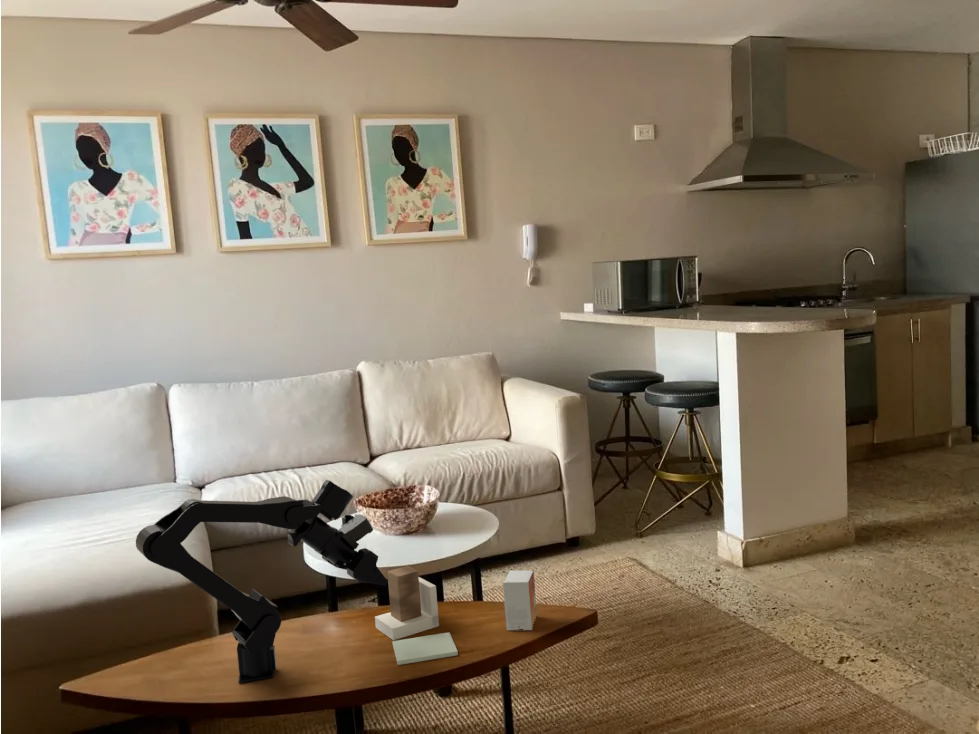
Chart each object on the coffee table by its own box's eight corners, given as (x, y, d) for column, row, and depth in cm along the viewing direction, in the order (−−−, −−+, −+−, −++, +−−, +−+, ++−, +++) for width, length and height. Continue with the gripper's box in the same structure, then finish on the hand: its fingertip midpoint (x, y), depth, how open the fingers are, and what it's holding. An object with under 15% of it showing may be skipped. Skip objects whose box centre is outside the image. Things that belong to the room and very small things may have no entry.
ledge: (393, 640, 168) (389, 598, 168) (375, 627, 176) (372, 587, 175) (439, 626, 174) (435, 585, 173) (420, 614, 182) (416, 575, 181)
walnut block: (401, 622, 171) (397, 576, 171) (391, 615, 176) (387, 571, 175) (421, 616, 174) (418, 571, 173) (411, 609, 178) (407, 565, 178)
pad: (397, 665, 156) (397, 661, 156) (392, 645, 166) (392, 641, 166) (457, 655, 159) (457, 651, 159) (449, 635, 168) (449, 632, 168)
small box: (532, 631, 168) (528, 582, 167) (506, 630, 169) (502, 582, 168) (537, 616, 176) (534, 569, 175) (512, 616, 177) (509, 569, 176)
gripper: (364, 513, 159) (418, 555, 166) (330, 498, 175) (380, 537, 181) (330, 561, 155) (387, 601, 162) (299, 541, 171) (351, 579, 178)
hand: (377, 577), depth 171 cm, fingers open, 9 cm apart
